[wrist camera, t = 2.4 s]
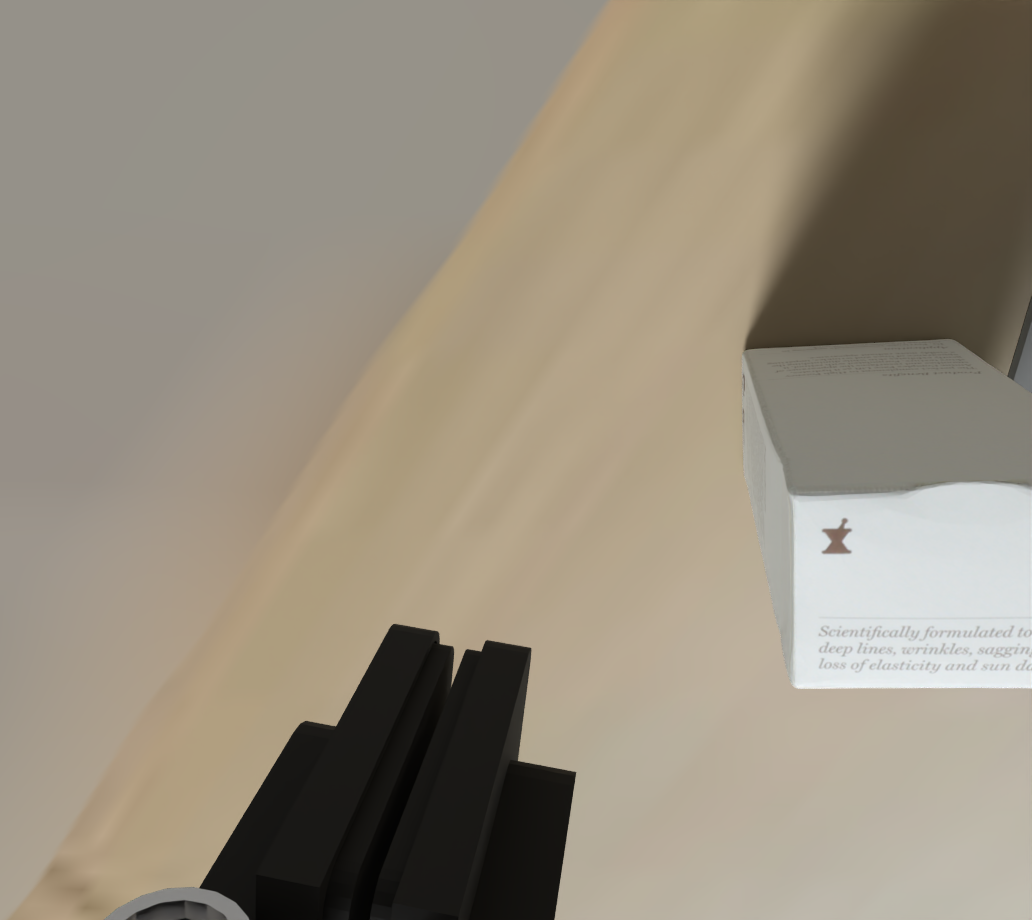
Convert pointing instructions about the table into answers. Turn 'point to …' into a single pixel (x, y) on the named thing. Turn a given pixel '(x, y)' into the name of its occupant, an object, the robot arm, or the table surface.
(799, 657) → the skincare box
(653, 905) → the table surface
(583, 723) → the table surface
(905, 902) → the table surface
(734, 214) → the table surface
